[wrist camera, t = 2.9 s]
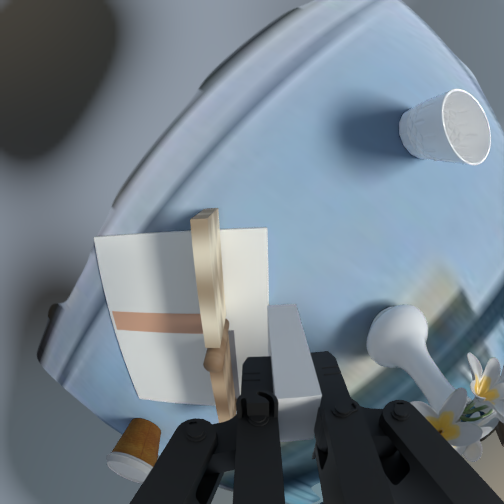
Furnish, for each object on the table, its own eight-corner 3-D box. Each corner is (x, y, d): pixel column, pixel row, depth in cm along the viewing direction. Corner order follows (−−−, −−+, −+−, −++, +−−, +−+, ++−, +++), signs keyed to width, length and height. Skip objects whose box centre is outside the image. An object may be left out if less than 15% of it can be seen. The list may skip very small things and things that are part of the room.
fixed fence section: (237, 403, 38) (234, 444, 30) (225, 403, 38) (220, 444, 30) (228, 317, 33) (221, 358, 25) (213, 317, 33) (202, 358, 25)
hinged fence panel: (226, 314, 33) (220, 347, 26) (214, 314, 33) (205, 347, 26) (218, 208, 29) (207, 218, 23) (204, 208, 29) (190, 219, 23)
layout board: (269, 402, 39) (269, 405, 38) (140, 396, 39) (139, 398, 38) (266, 227, 31) (267, 228, 30) (96, 236, 31) (93, 237, 31)
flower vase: (427, 349, 36) (503, 454, 12) (327, 362, 36) (374, 517, 12) (449, 278, 32) (564, 368, 8) (341, 281, 33) (450, 445, 9)
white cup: (448, 137, 27) (498, 134, 17) (422, 176, 29) (473, 181, 19) (413, 93, 25) (459, 75, 16) (383, 130, 27) (429, 118, 18)
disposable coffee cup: (144, 442, 44) (130, 484, 32) (115, 415, 41) (94, 458, 30) (178, 438, 42) (166, 485, 31) (148, 409, 40) (128, 459, 29)
